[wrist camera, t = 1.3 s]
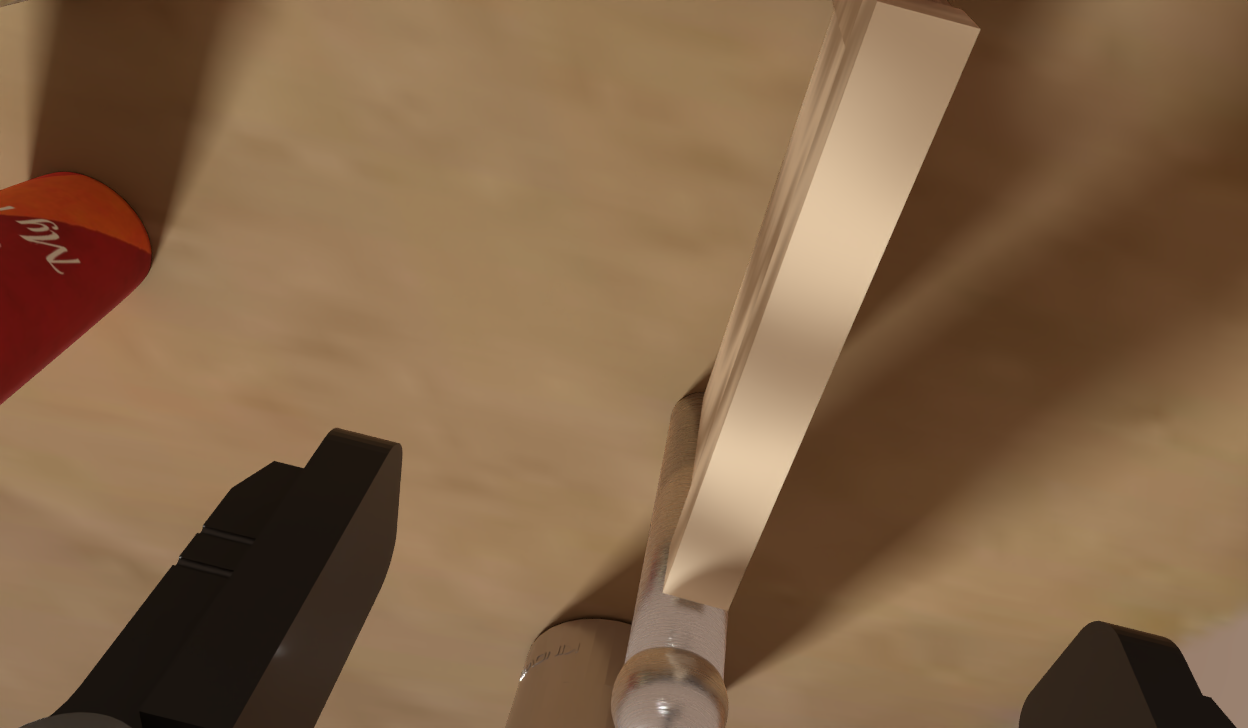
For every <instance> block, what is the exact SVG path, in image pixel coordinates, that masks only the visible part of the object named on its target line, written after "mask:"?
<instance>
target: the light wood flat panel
mask: <svg viewBox="0 0 1248 728" xmlns="http://www.w3.org/2000/svg"><path fill="white" fill-rule="evenodd" d="M832 2H833V5H834V12H833V15H832V18H831V21H830V24H829V27H828V30H827V33H826V36H825V39H824V41H823V44H822V47H821V50H820V53H819V56H818V59H817V62H816V65H815V68H814V71H813V74H812V77H811V80H810V83H809V86H808V89H807V92H806V95H805V98H804V101H803V104H802V107H801V110H800V112H799V115H798V118H797V121H796V124H795V127H794V130H793V133H792V136H791V139H790V142H789V145H788V148H787V151H786V154H785V157H784V160H783V163H782V166H781V169H780V172H779V175H778V178H777V181H776V183H775V186H774V189H773V192H772V195H771V198H770V201H769V204H768V207H767V210H766V213H765V216H764V219H763V222H762V225H761V228H760V231H759V234H758V237H757V240H756V243H755V246H754V249H753V252H752V254H751V257H750V260H749V263H748V266H747V269H746V272H745V275H744V278H743V281H742V284H741V287H740V290H739V293H738V296H737V299H736V302H735V305H734V308H733V311H732V314H731V317H730V320H729V323H728V326H727V328H726V331H725V334H724V337H723V340H722V343H721V346H720V349H719V352H718V355H717V358H716V361H715V364H714V367H713V370H712V373H711V376H710V379H709V382H708V385H707V388H706V391H705V394H704V397H703V403H702V410H701V417H700V424H699V432H698V439H697V446H696V453H695V460H694V468H693V475H692V482H691V487H690V490H689V493H688V496H687V498H686V501H685V504H684V507H683V510H682V513H681V515H680V518H679V521H678V524H677V527H676V530H675V532H674V535H673V538H672V541H671V544H670V548H669V555H668V561H667V568H666V574H665V580H664V587H663V593H665V594H669V595H672V596H676V597H679V598H683V599H687V600H690V601H694V602H697V603H701V604H705V605H708V606H712V607H715V608H719V609H723V610H726V611H728V610H729V607H730V605H731V603H732V600H733V598H734V596H735V593H736V591H737V589H738V587H739V584H740V582H741V580H742V577H743V575H744V573H745V570H746V568H747V566H748V564H749V561H750V559H751V557H752V554H753V552H754V550H755V547H756V545H757V543H758V541H759V538H760V536H761V534H762V531H763V529H764V527H765V524H766V522H767V520H768V518H769V515H770V513H771V511H772V508H773V506H774V504H775V501H776V499H777V497H778V495H779V492H780V490H781V488H782V485H783V483H784V481H785V478H786V476H787V474H788V472H789V469H790V467H791V465H792V462H793V460H794V458H795V455H796V453H797V451H798V449H799V446H800V444H801V442H802V439H803V437H804V435H805V432H806V430H807V428H808V426H809V423H810V421H811V419H812V416H813V414H814V412H815V409H816V407H817V405H818V403H819V400H820V398H821V396H822V393H823V391H824V389H825V386H826V384H827V382H828V380H829V377H830V375H831V373H832V370H833V368H834V366H835V363H836V361H837V359H838V357H839V354H840V352H841V350H842V347H843V345H844V343H845V340H846V338H847V336H848V334H849V331H850V329H851V327H852V324H853V322H854V320H855V317H856V315H857V313H858V311H859V308H860V306H861V304H862V301H863V299H864V297H865V294H866V292H867V290H868V288H869V285H870V283H871V281H872V278H873V276H874V274H875V271H876V269H877V267H878V265H879V262H880V260H881V258H882V255H883V253H884V251H885V248H886V246H887V244H888V242H889V239H890V237H891V235H892V232H893V230H894V228H895V225H896V223H897V221H898V219H899V216H900V214H901V212H902V209H903V207H904V205H905V202H906V200H907V198H908V196H909V193H910V191H911V189H912V186H913V184H914V182H915V179H916V177H917V175H918V172H919V170H920V168H921V166H922V163H923V161H924V159H925V156H926V154H927V152H928V149H929V147H930V145H931V143H932V140H933V138H934V136H935V133H936V131H937V129H938V126H939V124H940V122H941V120H942V117H943V115H944V113H945V110H946V108H947V106H948V103H949V101H950V99H951V97H952V94H953V92H954V90H955V87H956V85H957V83H958V80H959V78H960V76H961V74H962V71H963V69H964V67H965V64H966V62H967V60H968V57H969V55H970V53H971V51H972V48H973V46H974V44H975V41H976V39H977V37H978V34H979V32H980V30H981V29H980V28H979V27H978V26H977V24H976V23H975V22H974V21H973V20H972V19H971V18H970V17H969V16H968V15H967V14H966V13H965V12H964V11H963V10H962V9H958V8H955V7H952V6H951V5H950V4H949V2H948V1H947V0H832Z"/></svg>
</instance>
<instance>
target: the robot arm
mask: <svg viewBox="0 0 1248 728" xmlns="http://www.w3.org/2000/svg"><path fill="white" fill-rule="evenodd" d="M401 467H402V447H401V445H400V444H399V443H396V442H392V441H388V440H384V439H380V438H376V437H372V436H368V435H364V434H360V433H356V432H352V431H348V430H344V429H340V428H334V429H333V430H331V431H330V432H329V433H328V434H327V436H326V437H325V438H324V440H323V441H322V443H321V444H320V446H319V447H318V449H317V450H316V452H315V453H314V454H313V456H312V457H311V459H310V460H309V462H308V463H307V465H306V466H305V468H300V467H296V466H292V465H288V464H284V463H280V462H276V461H274V462H272V463H270V464H269V465H267V466H266V467H264V468H263V469H261V470H259V471H258V472H256V473H255V474H253V475H252V476H250V477H248V478H247V479H245V480H244V481H242V482H240V483H239V484H237V485H236V486H234V487H233V488H231V490H230V491H229V492H228V493H227V495H226V496H225V497H224V499H223V500H222V501H221V503H220V504H219V505H218V507H217V508H216V509H215V510H214V512H213V513H212V514H211V516H210V517H209V518H208V520H207V521H206V522H205V523H204V525H203V529H202V531H201V533H200V534H199V533H197V534H196V535H195V537H194V538H193V539H192V540H191V542H190V543H189V544H188V546H187V547H186V548H185V550H184V551H183V552H182V554H181V555H180V556H179V560H178V563H177V564H176V566H175V565H172V567H171V568H170V569H169V571H168V572H167V573H166V574H165V576H164V577H163V578H162V580H161V581H160V582H159V584H158V585H157V586H156V587H155V589H154V590H153V591H152V593H151V594H150V595H149V597H148V598H147V599H146V601H145V602H144V603H143V604H142V606H141V607H140V608H139V610H138V611H137V612H136V614H135V615H134V616H133V618H132V619H131V620H130V621H129V623H128V624H127V625H126V627H125V628H124V629H123V631H122V632H121V633H120V635H119V636H118V637H117V638H116V640H115V641H114V642H113V644H112V645H111V646H110V648H109V649H108V650H107V651H106V653H105V654H104V655H103V657H102V658H101V659H100V661H99V662H98V663H97V665H96V666H95V667H94V668H93V670H92V671H91V672H90V674H89V675H88V676H87V678H86V679H85V680H84V682H83V683H82V684H81V685H80V687H79V688H78V689H77V690H76V691H75V693H74V694H73V695H72V696H71V697H70V698H69V699H68V700H67V701H66V702H65V703H64V704H63V705H62V706H61V707H60V708H59V709H58V710H56V711H55V712H54V713H53V714H52V715H50V716H49V717H46V718H42V719H39V720H37V721H34V722H31V723H28V724H25V725H23V726H21V727H19V728H314V726H315V724H316V722H317V720H318V718H319V716H320V714H321V712H322V710H323V708H324V706H325V704H326V701H327V699H328V697H329V695H330V693H331V691H332V689H333V687H334V685H335V683H336V681H337V679H338V676H339V674H340V672H341V670H342V668H343V666H344V664H345V662H346V660H347V658H348V656H349V654H350V651H351V649H352V647H353V645H354V643H355V641H356V639H357V637H358V635H359V633H360V631H361V629H362V627H363V624H364V622H365V620H366V618H367V616H368V614H369V612H370V610H371V608H372V606H373V604H374V602H375V599H376V597H377V595H378V593H379V591H380V589H381V587H382V584H383V582H384V579H385V577H386V574H387V571H388V568H389V565H390V562H391V558H392V554H393V550H394V546H395V540H396V532H397V519H398V506H399V493H400V480H401ZM631 626H632V625H630V624H627V623H623V622H619V621H613V620H605V619H580V620H575V621H569V622H564V623H562V624H559V625H557V626H554V627H552V628H550V629H548V630H547V631H546V632H544V633H543V634H541V635H540V636H539V637H538V638H537V639H536V641H535V642H534V643H533V644H532V645H531V648H530V651H529V653H528V656H527V659H526V662H525V665H524V669H523V671H522V673H521V676H520V680H519V681H520V682H519V685H518V688H517V691H516V695H515V698H514V701H513V704H512V708H511V711H510V713H509V716H508V720H507V723H506V726H505V728H615V726H614V722H613V718H612V713H611V697H612V690H613V686H614V683H615V680H616V678H617V676H618V673H619V672H620V670H621V669H622V667H623V666H624V664H625V658H626V653H627V648H628V642H629V637H630V632H631ZM1019 728H1236V727H1235V725H1234V724H1233V723H1232V722H1231V721H1230V720H1229V719H1228V717H1227V716H1226V715H1225V714H1224V713H1223V711H1222V710H1221V709H1220V708H1219V707H1218V705H1216V703H1215V702H1214V701H1213V700H1212V698H1210V697H1206V696H1203V695H1202V693H1201V691H1200V689H1199V687H1198V685H1197V683H1196V681H1195V679H1194V677H1193V675H1192V673H1191V671H1190V669H1189V667H1188V664H1187V662H1186V660H1185V658H1184V656H1183V654H1182V653H1181V651H1180V649H1179V648H1178V647H1177V646H1176V644H1175V643H1173V642H1172V641H1171V640H1169V639H1167V638H1165V637H1162V636H1158V635H1154V634H1150V633H1146V632H1142V631H1138V630H1134V629H1130V628H1126V627H1122V626H1118V625H1114V624H1110V623H1106V622H1101V621H1094V622H1091V623H1089V624H1088V625H1086V626H1085V627H1084V628H1083V629H1082V630H1081V631H1080V632H1079V633H1078V635H1077V636H1076V637H1075V638H1074V640H1073V641H1072V642H1071V643H1070V645H1069V646H1068V647H1067V648H1066V649H1065V651H1064V652H1063V653H1062V654H1061V656H1060V657H1059V658H1058V659H1057V660H1056V662H1055V663H1054V664H1053V665H1052V667H1051V668H1050V669H1049V670H1048V672H1047V673H1046V674H1045V675H1044V676H1043V678H1042V679H1041V680H1040V681H1039V683H1038V684H1037V685H1036V686H1035V688H1034V689H1033V690H1032V691H1031V692H1030V694H1029V695H1028V697H1027V698H1026V700H1025V702H1024V705H1023V708H1022V711H1021V715H1020V721H1019Z"/></svg>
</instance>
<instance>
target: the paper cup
mask: <svg viewBox="0 0 1248 728" xmlns="http://www.w3.org/2000/svg"><path fill="white" fill-rule="evenodd" d="M151 261H152V251H151V245H150V241H149V237H148V235H147V232H146V230H145V228H144V226H143V224H142V222H141V220H140V219H139V217H138V216H137V214H136V213H135V212H134V210H133V209H132V208H131V207H130V205H129V204H128V203H127V202H126V201H125V200H124V199H123V198H122V197H121V196H119V195H118V194H117V193H116V192H115V191H113V190H112V189H111V188H109V187H108V186H106V185H105V184H103V183H101V182H99V181H97V180H95V179H93V178H91V177H88V176H85V175H82V174H78V173H73V172H56V173H51V174H47V175H43V176H40V177H37V178H34V179H31V180H28V181H25V182H22V183H19V184H17V185H14V186H11V187H8V188H6V189H3V190H0V405H1V404H2V403H3V402H4V401H5V400H7V399H8V398H9V397H10V396H11V395H13V394H14V393H15V392H16V391H17V390H18V389H20V388H21V387H22V386H23V385H24V384H26V383H27V382H28V381H29V380H30V379H31V378H33V377H34V376H35V375H36V374H37V373H39V372H40V371H41V370H42V369H43V368H44V367H46V366H47V365H48V364H49V363H50V362H52V361H53V360H54V359H55V358H56V357H57V356H59V355H60V354H61V353H62V352H63V351H64V350H66V349H67V348H68V347H69V346H70V345H72V344H73V343H74V342H75V341H76V340H77V339H79V338H80V337H81V336H82V335H83V334H84V333H86V332H87V331H88V330H89V329H90V328H91V327H93V326H94V325H95V324H96V323H97V322H98V321H100V320H101V319H102V318H103V317H104V316H105V315H107V314H108V313H109V312H110V311H111V310H112V309H113V308H115V307H116V306H117V305H118V304H119V303H120V302H121V301H122V300H124V299H125V298H126V297H127V296H128V295H129V294H130V293H131V292H132V291H133V290H134V289H135V288H136V287H137V286H139V285H140V284H141V282H142V281H143V280H144V279H145V277H146V276H147V274H148V272H149V270H150V266H151Z"/></svg>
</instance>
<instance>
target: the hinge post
mask: <svg viewBox="0 0 1248 728" xmlns="http://www.w3.org/2000/svg"><path fill="white" fill-rule="evenodd" d="M704 394H705V392H700V393H694V394H691V395H688V396H686V397H684V398H683V399H681V400H680V401H679V402H678V403H677V404H676V405H675V407H674V409H673V411H672V414H671V420H670V425H669V430H668V436H667V441H666V446H665V452H664V457H663V462H662V467H661V473H660V478H659V483H658V489H657V494H656V499H655V505H654V510H653V515H652V520H651V526H650V531H649V536H648V542H647V547H646V552H645V558H644V563H643V568H642V573H641V579H640V584H639V589H638V595H637V600H636V605H635V611H634V616H633V621H632V626H631V632H630V637H629V642H628V648H627V653H626V658H625V664H624V666H623V667H622V669H621V670H620V672H619V673H618V676H617V678H616V680H615V683H614V686H613V690H612V697H611V713H612V718H613V722H614V726H615V728H725V726H726V723H727V718H728V696H727V690H726V687H725V684H724V681H723V680H724V665H725V651H726V636H727V622H728V611H726V610H723V609H719V608H715V607H712V606H708V605H705V604H701V603H697V602H694V601H690V600H687V599H683V598H679V597H676V596H672V595H669V594H665V593H663V587H664V580H665V574H666V568H667V561H668V555H669V548H670V544H671V541H672V538H673V535H674V532H675V530H676V527H677V524H678V521H679V518H680V515H681V513H682V510H683V507H684V504H685V501H686V498H687V496H688V493H689V490H690V487H691V482H692V475H693V468H694V460H695V453H696V446H697V439H698V432H699V424H700V417H701V410H702V403H703V397H704Z"/></svg>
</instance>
